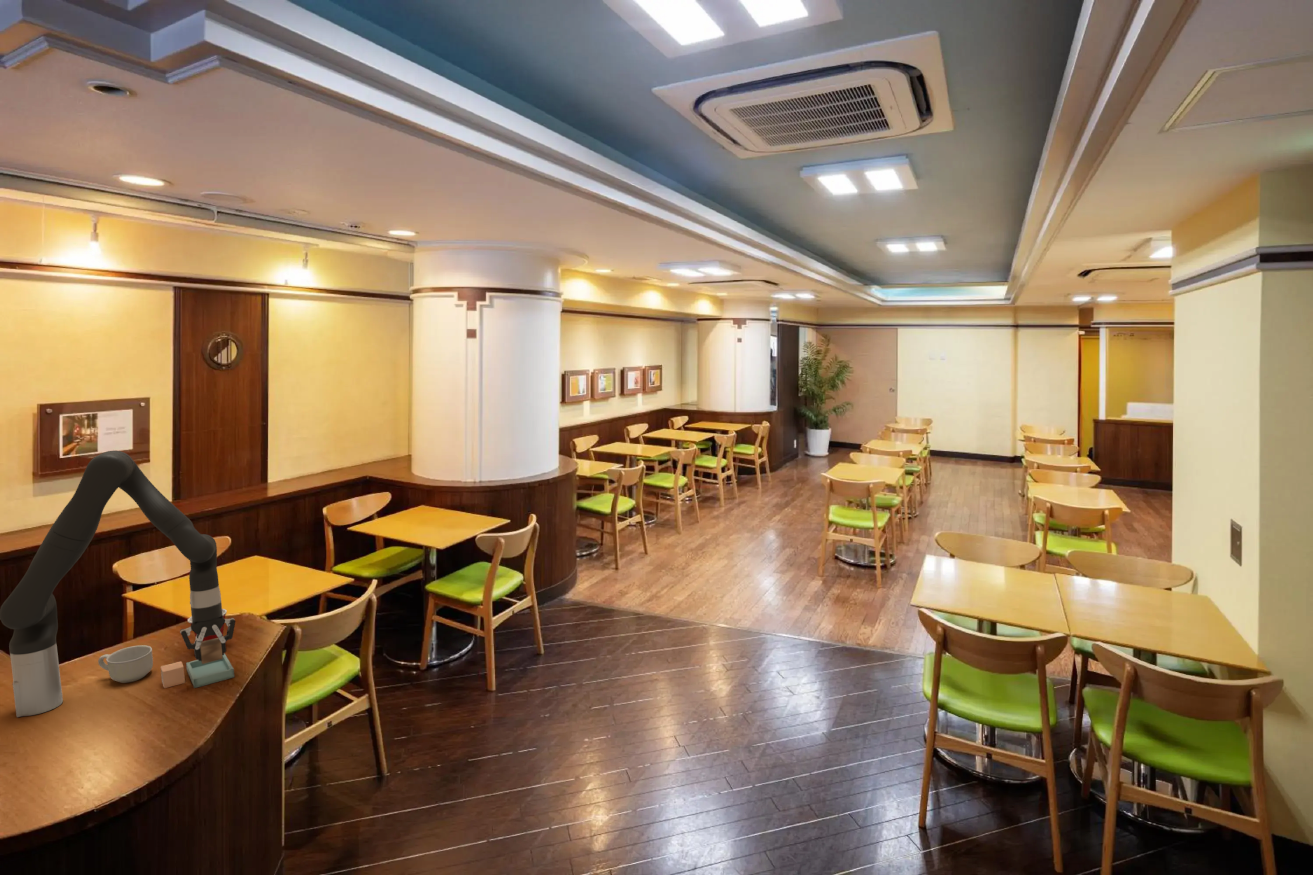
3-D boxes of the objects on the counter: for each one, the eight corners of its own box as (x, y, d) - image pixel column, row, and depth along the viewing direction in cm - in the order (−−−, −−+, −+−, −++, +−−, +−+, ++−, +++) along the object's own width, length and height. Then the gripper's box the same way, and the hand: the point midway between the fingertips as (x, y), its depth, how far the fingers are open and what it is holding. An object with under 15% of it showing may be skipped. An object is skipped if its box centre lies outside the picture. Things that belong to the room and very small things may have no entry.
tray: (194, 687, 192) (193, 679, 191) (186, 670, 203) (186, 662, 202) (234, 676, 198) (233, 669, 198) (225, 660, 209) (224, 653, 209)
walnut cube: (202, 663, 194) (201, 647, 193) (199, 658, 197) (198, 642, 197) (222, 658, 197) (221, 642, 197) (219, 653, 201) (218, 637, 200)
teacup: (163, 670, 203) (161, 645, 202) (132, 687, 192) (129, 661, 191) (122, 668, 204) (119, 643, 203) (88, 685, 194) (86, 659, 193)
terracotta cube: (164, 688, 192) (162, 671, 191) (162, 682, 196) (160, 666, 195) (185, 682, 195) (183, 666, 195) (182, 676, 199) (181, 661, 198)
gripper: (178, 612, 188) (183, 669, 190) (236, 599, 197) (241, 653, 199) (174, 605, 193) (180, 660, 195) (231, 593, 203) (236, 646, 205)
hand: (211, 656), depth 197 cm, fingers closed on walnut cube, 5 cm apart
